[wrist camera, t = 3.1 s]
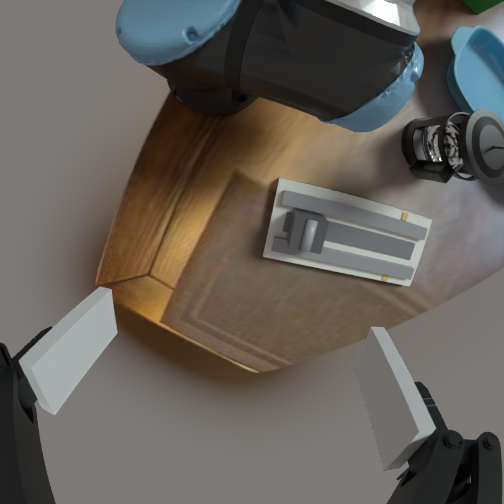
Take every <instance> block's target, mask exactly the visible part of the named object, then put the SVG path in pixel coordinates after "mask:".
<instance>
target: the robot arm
mask: <svg viewBox="0 0 504 504" xmlns="http://www.w3.org/2000/svg"><path fill="white" fill-rule="evenodd" d="M414 2H415V0H124V2H123V3H122V5H121V7H120V9H119V12H118V15H117V19H116V34H117V38H118V40H119V43H120V44H121V46H122V47H123V48H124V49H125V50H126V51H127V52H128V53H129V54H130V55H131V57H133V59H134V60H136V61H137V62H138V63H142V64H144V65H146V66H147V67H149V68H151V69H152V70H154V71H155V72H157V73H159V74H160V75H161V76H163V77H164V78H166V79H167V81H168V85H169V88H170V90H171V92H172V94H173V95H174V97H175V98H176V99H177V100H178V101H179V102H180V103H181V104H182V105H184V106H185V107H187V108H189V109H190V110H192V111H194V112H197V113H199V114H203V115H209V116H222V115H228V114H232V113H235V112H237V111H240V110H242V109H244V108H245V107H247V106H248V105H250V104H251V103H252V102H254V101H255V100H256V99H257V98H258V97H261V98H264V99H267V100H270V101H274V102H277V103H280V104H283V105H286V106H288V107H291V108H294V109H297V110H300V111H302V112H305V113H308V114H310V115H313V116H315V117H317V118H318V119H319V120H320V121H322V122H324V123H329V124H336V125H338V126H341V127H343V128H346V129H349V130H351V131H354V132H369V131H372V130H375V129H377V128H379V127H381V126H383V125H384V124H385V123H387V122H388V121H389V120H390V119H392V118H393V117H394V116H395V115H396V114H397V113H398V112H399V111H400V110H401V108H402V107H403V106H404V105H405V104H406V102H407V101H408V99H409V98H410V96H411V95H412V93H413V92H414V90H415V86H414V83H415V82H416V81H417V80H418V79H419V78H420V76H421V73H422V70H423V65H424V57H423V54H422V51H421V49H420V48H419V47H418V45H417V43H416V42H415V40H416V38H417V37H418V35H419V33H420V28H419V25H418V23H417V20H416V18H415V15H414V13H413V7H412V5H413V4H414ZM116 334H117V328H116V321H115V314H114V307H113V299H112V290H111V289H107V288H103V287H99V288H98V289H96V290H95V291H94V292H93V293H92V294H91V295H90V296H88V297H87V298H86V299H85V300H83V301H82V302H81V303H80V304H79V305H78V306H77V307H76V308H74V309H73V310H72V311H71V312H70V313H69V314H68V315H66V316H65V317H64V318H63V319H62V320H61V321H60V322H59V323H57V325H55V326H54V327H49V328H46V329H44V330H42V331H41V332H40V333H39V334H38V335H37V336H35V338H33V339H32V340H31V341H30V343H28V344H27V345H26V346H25V347H24V348H23V349H22V350H21V351H20V352H18V354H16V355H15V356H14V357H13V358H12V359H11V357H10V354H9V352H8V350H7V347H6V346H5V344H3V343H0V504H55V500H54V497H53V494H52V490H51V487H50V483H49V479H48V475H47V471H46V467H45V463H44V458H43V453H42V448H41V443H40V436H39V429H38V421H37V412H36V407H35V405H34V403H35V402H36V400H38V401H39V403H40V405H41V407H42V408H43V409H44V410H46V411H48V412H50V413H52V414H53V415H55V414H56V413H57V412H58V410H59V409H60V407H61V406H62V405H63V403H64V402H65V400H66V399H67V398H68V396H69V395H70V394H71V392H72V391H73V389H74V388H75V387H76V385H77V384H78V383H79V381H80V380H81V379H82V377H83V376H84V375H85V374H86V372H87V371H88V370H89V368H90V367H91V366H92V364H93V363H94V362H95V360H96V359H97V358H98V357H99V355H100V354H101V353H102V351H103V350H104V349H105V348H106V346H107V345H108V344H109V343H110V341H111V340H112V339H113V338H114V336H115V335H116ZM355 372H356V375H357V377H358V381H359V384H360V387H361V390H362V393H363V397H364V400H365V403H366V407H367V410H368V413H369V417H370V420H371V424H372V427H373V431H374V434H375V438H376V442H377V446H378V449H379V453H380V457H381V461H382V465H383V469H384V471H386V470H391V469H397V468H400V467H401V466H402V465H403V464H404V463H405V462H406V461H408V464H409V467H408V468H407V469H406V470H405V471H404V472H403V473H402V474H401V475H400V476H399V477H398V478H397V480H399V479H400V478H401V480H400V482H399V484H398V486H397V487H396V489H395V491H394V493H393V494H392V496H391V498H390V499H389V501H388V502H387V504H502V461H501V447H500V442H499V439H498V438H497V436H496V435H494V434H493V433H491V432H484V433H482V434H481V435H480V436H479V437H478V438H477V439H476V440H466V439H463V437H462V436H461V435H460V434H459V433H458V432H456V431H453V430H448V429H447V427H446V425H445V422H444V420H443V418H442V416H441V414H440V412H439V410H438V408H437V406H435V402H434V400H433V399H432V397H431V395H430V393H429V391H428V389H427V388H426V387H425V386H424V385H423V384H422V383H421V382H413V380H412V378H411V376H410V374H409V372H408V370H407V368H406V366H405V364H404V362H403V360H402V359H401V357H400V355H399V353H398V351H397V349H396V348H395V346H394V344H393V342H392V340H391V339H390V337H389V335H388V334H387V332H386V330H385V328H384V327H371V328H370V331H369V333H368V336H367V338H366V341H365V344H364V346H363V349H362V351H361V354H360V356H359V359H358V361H357V363H356V366H355ZM470 478H471V483H470Z"/></svg>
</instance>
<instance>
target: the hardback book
mask: <svg viewBox="0 0 504 504" xmlns="http://www.w3.org/2000/svg"><path fill="white" fill-rule="evenodd" d="M461 1H462V2H464V3H465V4H466V5H467V6H468V7H469V8H470V9H471V10H472V11H473V12H475V13H476V14H477V15H478V14H480V13H482V12H484V11H485V10H487V9H489V8H491V7H493V6H495V5H497V4H499V3H501V2H503V1H504V0H461Z"/></svg>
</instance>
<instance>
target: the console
mask: <svg viewBox="0 0 504 504" xmlns="http://www.w3.org/2000/svg"><path fill="white" fill-rule="evenodd" d="M293 208H294V209H299V210H303V211H308V212H312V213H317V214H321V215H323V216H324V217H325V218H326V219H327V220H328V221H329V226H328V229H327V233H326V237H325V241H324V244H323V248H322V252H321V254H317V253H312V252H307V251H302V250H298V249H293V248H288V242H287V234H288V230H289V225H290V221H291V216H292V212H293ZM431 222H432V220H431V219H428V218H426V217H423V216H420V215H417V214H414V213H411V212H408V211H404V210H401V209H398V208H395V207H392V206H388V205H385V204H382V203H378V202H375V201H372V200H368V199H365V198H361V197H357V196H354V195H350V194H346V193H342V192H339V191H335V190H331V189H327V188H323V187H319V186H315V185H310V184H306V183H302V182H297V181H293V180H289V179H284V178H279V181H278V186H277V191H276V196H275V201H274V205H273V210H272V215H271V220H270V224H269V229H268V234H267V238H266V243H265V248H264V252H263V257H267V258H272V259H277V260H281V261H286V262H291V263H296V264H301V265H306V266H311V267H316V268H321V269H326V270H331V271H336V272H340V273H345V274H350V275H355V276H360V277H365V278H370V279H375V280H380V281H385V282H390V283H395V284H400V285H405V286H410V284H411V282H412V279H413V276H414V274H415V271H416V268H417V266H418V263H419V260H420V257H421V254H422V251H423V248H424V245H425V242H426V239H427V235H428V232H429V229H430V225H431Z"/></svg>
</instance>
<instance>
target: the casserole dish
mask: <svg viewBox="0 0 504 504" xmlns="http://www.w3.org/2000/svg"><path fill="white" fill-rule="evenodd" d="M451 48H452V51H453V53H454V56H453V58H452V60H451V62H450V64H449V67H448V70H447V75H446V78H447V84H448V88H449V90H450V93H451V95H452V97H453V98H454V100H455V102H456V103H457V105H458V106H459V108H460V109H461V110H462V112H465V113H468V114H472V113H473V112H474V111H476V110H478V109H488V110H491V111H493V112H494V113H495V114H497V115H498V116H499V118H500V119H501V120H502V121H503V123H504V43H503V42H502V41H501V40H500V39H499V38H498V37H497V36H496V35H495V34H494V33H493V32H492V31H491V30H489V29H488V28H486V27H484V26H481V25H477V26H474V27H472V28H469V27H464V26H461V27H458V28H457V29H456V30H455V32H454V34H453V35H452V38H451Z"/></svg>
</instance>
